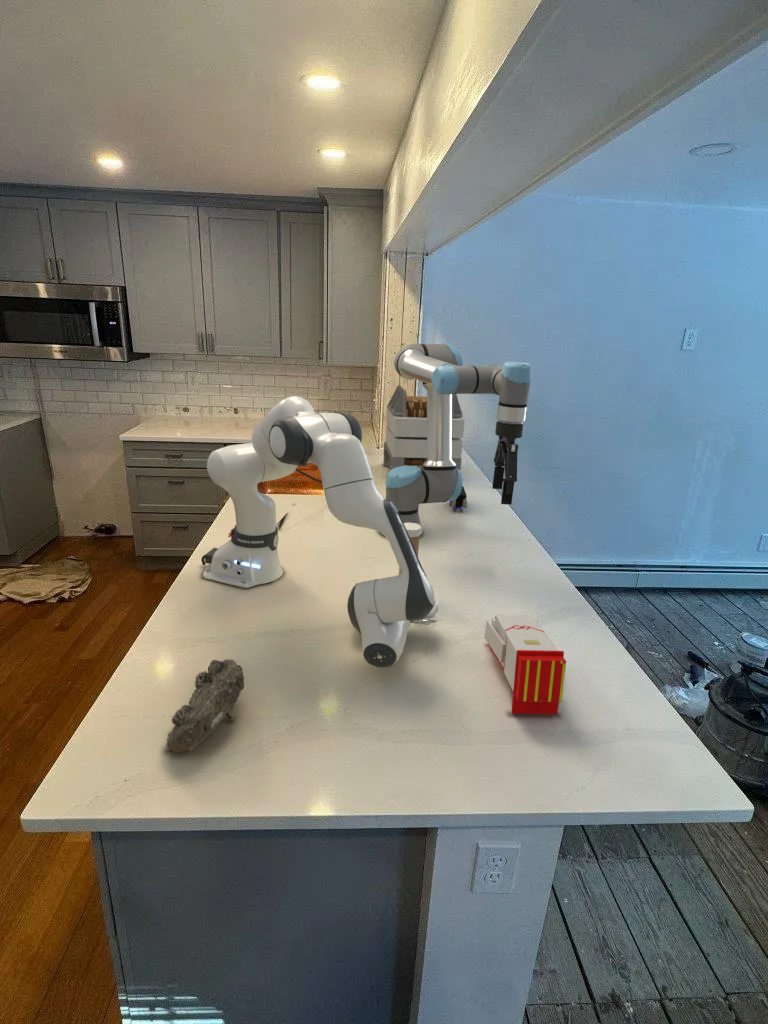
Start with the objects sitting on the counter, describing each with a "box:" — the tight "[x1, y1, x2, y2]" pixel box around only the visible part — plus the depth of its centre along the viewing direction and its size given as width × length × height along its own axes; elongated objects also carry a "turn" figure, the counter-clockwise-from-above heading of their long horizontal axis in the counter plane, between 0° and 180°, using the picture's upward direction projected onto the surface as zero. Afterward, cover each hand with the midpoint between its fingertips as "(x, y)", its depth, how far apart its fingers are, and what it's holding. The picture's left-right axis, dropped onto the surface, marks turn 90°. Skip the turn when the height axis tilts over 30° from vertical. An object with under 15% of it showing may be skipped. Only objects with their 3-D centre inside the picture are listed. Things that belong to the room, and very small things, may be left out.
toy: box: [484, 614, 567, 716], centre depth 124 cm, size 12×13×30 cm
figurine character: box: [448, 485, 468, 512], centre depth 228 cm, size 7×8×15 cm
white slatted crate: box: [383, 384, 465, 473], centre depth 268 cm, size 34×33×41 cm
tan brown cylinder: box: [398, 536, 420, 575], centre depth 156 cm, size 5×5×19 cm
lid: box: [404, 523, 421, 537], centre depth 153 cm, size 6×6×2 cm
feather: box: [276, 513, 288, 529], centre depth 211 cm, size 2×28×2 cm
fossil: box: [166, 658, 245, 754], centre depth 106 cm, size 22×10×15 cm
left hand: (400, 591), depth 145 cm, fingers open, 8 cm apart
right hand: (501, 496), depth 160 cm, fingers open, 13 cm apart
